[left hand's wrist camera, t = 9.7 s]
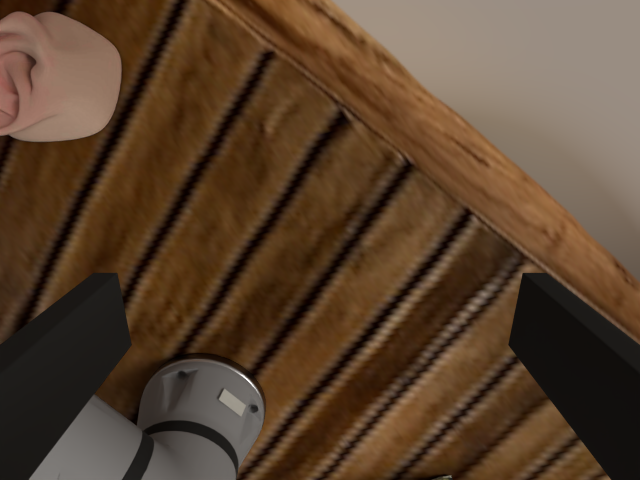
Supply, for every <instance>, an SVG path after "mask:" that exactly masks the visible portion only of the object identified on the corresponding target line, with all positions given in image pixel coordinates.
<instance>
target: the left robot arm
mask: <svg viewBox="0 0 640 480" xmlns="http://www.w3.org/2000/svg"><path fill="white" fill-rule="evenodd" d="M131 345H132V344H131V339H130V334H129V329H128V324H127V319H126V314H125V309H124V304H123V299H122V294H121V289H120V284H119V279H118V274H117V273H93V274H92V275H90V276H89V277H88V278H86V279H85V280H84V281H83V282H81V283H80V284H79V285H77V286H76V287H75V288H73V289H72V290H71V291H70V292H68V293H67V294H66V295H64V296H63V297H62V298H61V299H59V300H58V301H57V302H55V303H54V304H53V305H51V306H50V307H49V308H48V309H46V310H45V311H44V312H42V313H41V314H40V315H39V316H37V317H36V318H35V319H33V320H32V321H31V322H29V323H28V324H27V325H26V326H24V327H23V328H22V329H20V330H19V331H18V332H16V333H15V334H14V335H13V336H11V337H10V338H9V339H7V340H6V341H5V342H4V343H2V344H1V345H0V480H236V477H237V473H238V468H239V467H240V465H241V463H242V462H243V460H244V459H245V457H246V455H247V454H248V452H249V450H250V449H251V447H252V446H253V444H254V442H255V441H256V439H257V437H258V436H259V433H260V431H261V429H262V426H263V422H264V417H265V411H266V401H265V396H264V393H263V390H262V388H261V386H260V384H259V383H258V381H257V380H256V379H255V377H254V376H253V375H252V374H251V373H250V372H249V371H247V370H246V369H245V368H244V367H242V366H241V365H239V364H237V363H235V362H233V361H231V360H229V359H226V358H223V357H220V356H216V355H210V354H190V355H185V356H181V357H178V358H175V359H172V360H170V361H168V362H167V363H165V364H164V365H162V366H161V367H160V368H159V369H158V370H157V371H156V372H155V373H154V374H153V376H152V377H151V379H150V380H149V382H148V384H147V385H146V387H145V389H144V392H143V395H142V398H141V402H140V408H139V415H138V422H137V426H136V425H135V424H133V423H132V422H131V421H129V420H128V419H127V418H125V417H124V416H123V415H122V414H120V413H119V412H118V411H116V410H115V409H114V408H112V407H111V406H110V405H108V404H107V403H106V402H104V401H103V400H102V399H100V398H99V397H98V396H96V395H95V392H96V391H97V390H98V388H99V387H100V386H101V384H102V383H103V382H104V380H105V379H106V378H107V377H108V375H109V374H110V373H111V371H112V370H113V369H114V367H115V366H116V365H117V363H118V362H119V361H120V359H121V358H122V357H123V356H124V354H125V353H126V352H127V350H128V349H129V348H130V346H131ZM508 345H509V346H510V348H511V349H512V350H513V352H514V353H515V354H516V356H517V357H518V358H519V359H520V361H521V362H522V363H523V365H524V366H525V367H526V369H527V370H528V371H529V373H530V374H531V375H532V377H533V378H534V379H535V380H536V382H537V383H538V384H539V386H540V387H541V388H542V390H543V391H544V392H545V394H546V395H547V396H548V397H549V399H550V400H551V401H552V403H553V404H554V405H555V407H556V408H557V409H558V411H559V412H560V413H561V414H562V416H563V417H564V418H565V420H566V421H567V422H568V424H569V425H570V426H571V428H572V429H573V430H574V432H575V433H576V434H577V435H578V437H579V438H580V439H581V441H582V442H583V443H584V445H585V446H586V447H587V449H588V450H589V451H590V452H591V454H592V455H593V456H594V458H595V459H596V460H597V462H598V463H599V464H600V466H601V467H602V468H603V469H604V471H605V472H606V473H607V475H608V476H609V477H610V479H611V480H640V345H639V344H638V343H636V342H635V341H634V340H633V339H631V338H630V337H629V336H627V335H626V334H625V333H624V332H622V331H621V330H620V329H618V328H617V327H616V326H614V325H613V324H612V323H611V322H609V321H608V320H607V319H605V318H604V317H603V316H601V315H600V314H599V313H598V312H596V311H595V310H594V309H592V308H591V307H590V306H589V305H587V304H586V303H585V302H583V301H582V300H581V299H579V298H578V297H577V296H576V295H574V294H573V293H572V292H570V291H569V290H568V289H567V288H565V287H564V286H563V285H561V284H560V283H559V282H557V281H556V280H555V279H554V278H552V277H551V276H550V275H548V274H547V273H523V274H522V279H521V284H520V289H519V294H518V299H517V304H516V309H515V314H514V319H513V324H512V329H511V334H510V339H509V344H508Z"/></svg>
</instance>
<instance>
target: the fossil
mask: <svg viewBox="0 0 640 480" xmlns="http://www.w3.org/2000/svg"><path fill="white" fill-rule="evenodd" d="M432 480H452V477H451V476H443V477H438V478H436V479H432Z"/></svg>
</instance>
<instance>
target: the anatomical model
mask: <svg viewBox="0 0 640 480" xmlns="http://www.w3.org/2000/svg"><path fill="white" fill-rule="evenodd" d="M121 72H122V67H121V59H120V55H119V53H118V51H117V49H116V48H115V47H114V45H113V44H112V43H111V42H109V41H108V40H107V39H105V38H104V37H103V36H101V35H100V34H98V33H97V32H95V31H93V30H92V29H90V28H88V27H87V26H85V25H83V24H82V23H80V22H78V21H76V20H73V19H71V18H68V17H66V16H64V15H61V14H58V13H54V12H45V13H41V14H38V15H36V16H34V17H33V16H31V15H30V14H27V13H24V12H14V13H11V14H9V15H8V16H6V17H5V18H3V19H2V20H0V136H3V135H8V134H9V135H10V136H12V137H13V138H16V139H19V140H23V141H32V142H50V141H63V140H72V139H78V138H83V137H87V136H90V135H93V134H95V133H97V132H99V131H101V130H102V129H103V128H104V127H105V126H106V125H107V124H108V122H109V121H110V119H111V117H112V115H113V112H114V110H115V107H116V104H117V101H118V96H119V91H120V84H121Z"/></svg>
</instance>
